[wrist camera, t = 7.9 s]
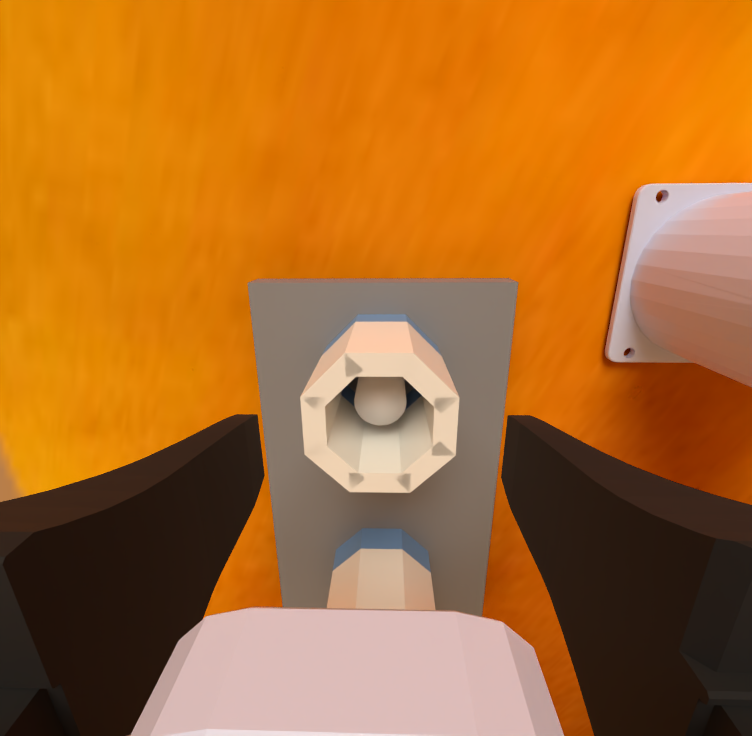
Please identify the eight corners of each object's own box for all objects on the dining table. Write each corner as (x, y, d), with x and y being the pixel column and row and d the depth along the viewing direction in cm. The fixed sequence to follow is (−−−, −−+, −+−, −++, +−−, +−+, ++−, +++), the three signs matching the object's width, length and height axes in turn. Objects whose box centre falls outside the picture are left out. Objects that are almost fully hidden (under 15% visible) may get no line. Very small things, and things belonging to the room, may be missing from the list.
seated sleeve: (429, 529, 22) (443, 632, 16) (425, 600, 24) (437, 716, 18) (335, 527, 22) (316, 629, 17) (338, 598, 24) (323, 713, 18)
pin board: (508, 278, 19) (553, 296, 14) (476, 597, 26) (499, 691, 20) (258, 279, 19) (210, 297, 14) (289, 593, 26) (264, 685, 21)
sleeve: (439, 314, 18) (462, 352, 13) (434, 418, 20) (453, 493, 14) (324, 314, 18) (296, 352, 13) (329, 417, 20) (307, 491, 14)
